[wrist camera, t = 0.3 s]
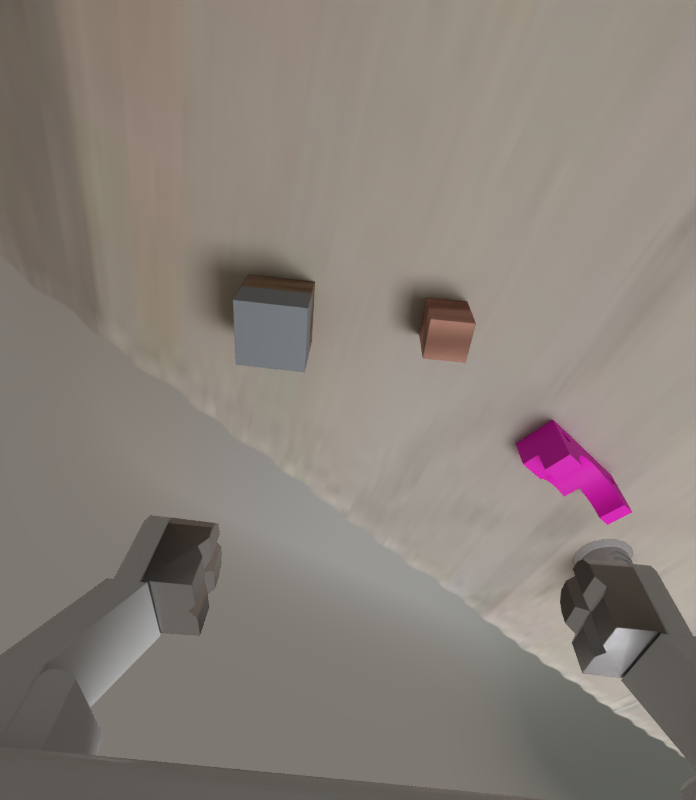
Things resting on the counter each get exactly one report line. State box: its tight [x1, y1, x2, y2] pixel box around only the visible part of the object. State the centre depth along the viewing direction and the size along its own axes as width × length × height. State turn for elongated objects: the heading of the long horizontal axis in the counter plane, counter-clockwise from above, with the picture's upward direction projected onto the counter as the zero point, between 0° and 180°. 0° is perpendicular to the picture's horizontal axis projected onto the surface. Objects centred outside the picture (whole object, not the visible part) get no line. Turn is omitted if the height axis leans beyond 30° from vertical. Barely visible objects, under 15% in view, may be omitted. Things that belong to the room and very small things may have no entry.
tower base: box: [242, 275, 315, 351], centre depth 58 cm, size 8×8×4 cm
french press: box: [573, 539, 633, 565], centre depth 73 cm, size 10×12×25 cm
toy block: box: [516, 420, 632, 525], centre depth 68 cm, size 15×6×8 cm, turn 48°
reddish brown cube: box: [419, 298, 476, 363], centre depth 56 cm, size 5×5×6 cm
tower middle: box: [233, 286, 312, 372], centre depth 54 cm, size 8×8×4 cm
